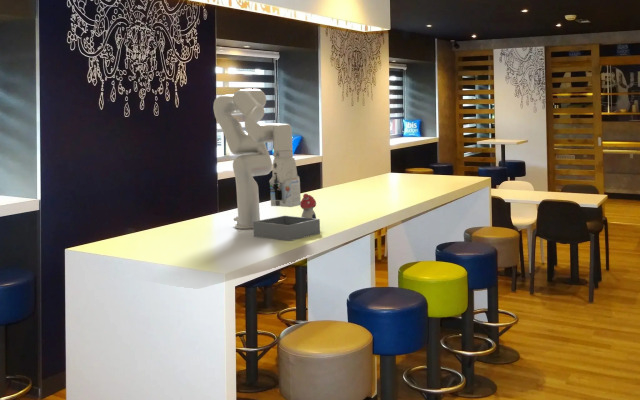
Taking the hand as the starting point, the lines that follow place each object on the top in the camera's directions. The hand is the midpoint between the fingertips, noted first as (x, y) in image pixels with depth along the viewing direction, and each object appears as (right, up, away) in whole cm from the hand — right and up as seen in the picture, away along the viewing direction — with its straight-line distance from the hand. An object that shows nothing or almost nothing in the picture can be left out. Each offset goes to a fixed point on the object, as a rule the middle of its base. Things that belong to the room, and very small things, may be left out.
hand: (285, 198), depth 282 cm
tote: (+1, -15, +2) cm, 15 cm away
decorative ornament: (+10, -13, +18) cm, 24 cm away
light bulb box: (0, -3, 0) cm, 3 cm away
